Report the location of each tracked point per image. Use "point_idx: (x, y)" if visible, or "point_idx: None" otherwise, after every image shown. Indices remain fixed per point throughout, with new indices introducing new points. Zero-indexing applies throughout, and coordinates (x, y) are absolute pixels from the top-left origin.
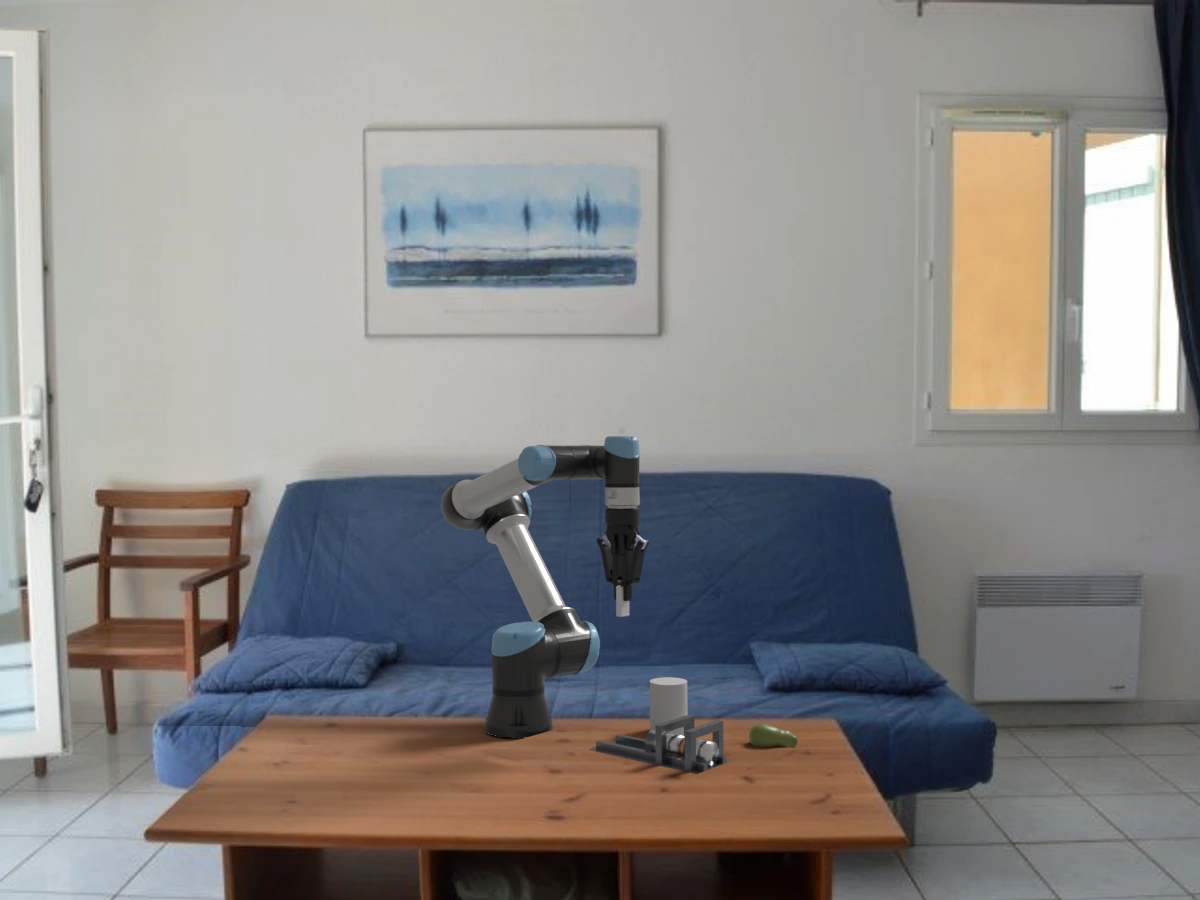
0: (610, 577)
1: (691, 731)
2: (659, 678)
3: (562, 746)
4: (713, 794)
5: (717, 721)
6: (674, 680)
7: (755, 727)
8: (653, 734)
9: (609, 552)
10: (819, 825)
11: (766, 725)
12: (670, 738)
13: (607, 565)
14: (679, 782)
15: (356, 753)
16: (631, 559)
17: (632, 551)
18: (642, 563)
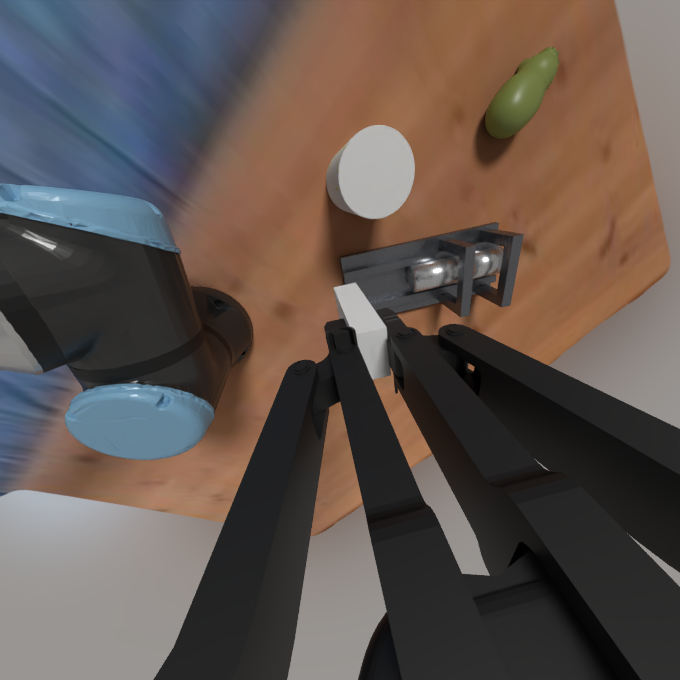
0: (328, 413)
1: (509, 302)
2: (345, 170)
3: (305, 325)
4: (516, 306)
5: (517, 242)
6: (381, 158)
7: (514, 124)
8: (426, 287)
9: (285, 576)
10: (614, 293)
11: (532, 103)
12: (451, 282)
13: (315, 479)
14: (476, 307)
15: (218, 462)
16: (505, 442)
17: (574, 507)
18: (581, 384)
